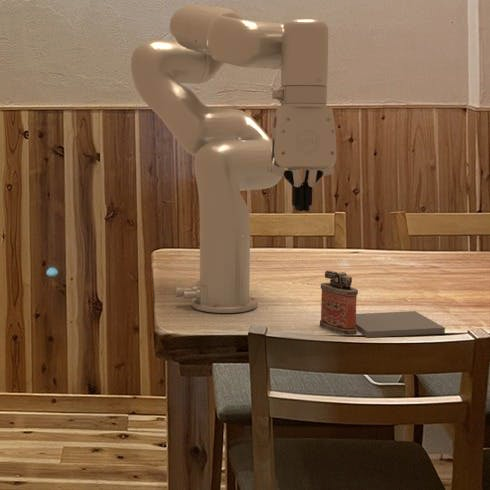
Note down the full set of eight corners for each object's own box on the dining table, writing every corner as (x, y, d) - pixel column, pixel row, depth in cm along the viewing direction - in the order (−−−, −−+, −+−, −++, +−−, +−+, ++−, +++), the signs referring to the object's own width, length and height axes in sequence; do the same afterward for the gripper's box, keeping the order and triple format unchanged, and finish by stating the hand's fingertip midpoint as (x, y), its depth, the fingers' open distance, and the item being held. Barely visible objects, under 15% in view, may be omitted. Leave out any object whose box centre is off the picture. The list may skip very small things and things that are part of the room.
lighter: (361, 333, 136) (363, 275, 134) (346, 335, 134) (348, 277, 132) (329, 322, 142) (331, 267, 141) (315, 325, 140) (316, 269, 139)
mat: (366, 337, 133) (367, 331, 133) (342, 319, 144) (342, 314, 144) (444, 333, 136) (444, 327, 136) (414, 316, 147) (415, 311, 147)
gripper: (264, 97, 125) (263, 213, 128) (355, 98, 128) (352, 212, 131) (253, 98, 132) (252, 208, 135) (339, 99, 136) (337, 207, 138)
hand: (301, 210), depth 133 cm, fingers closed
